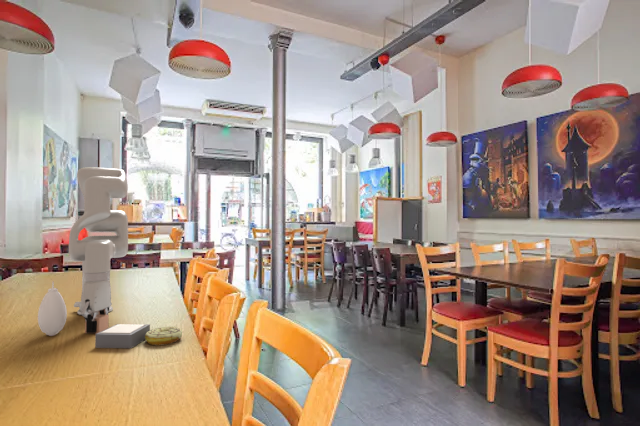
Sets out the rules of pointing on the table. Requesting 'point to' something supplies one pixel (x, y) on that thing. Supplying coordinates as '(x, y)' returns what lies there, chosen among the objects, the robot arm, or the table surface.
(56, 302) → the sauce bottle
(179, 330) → the decorated donut
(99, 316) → the terracotta cube
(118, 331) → the grey flat square block
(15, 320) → the table surface
